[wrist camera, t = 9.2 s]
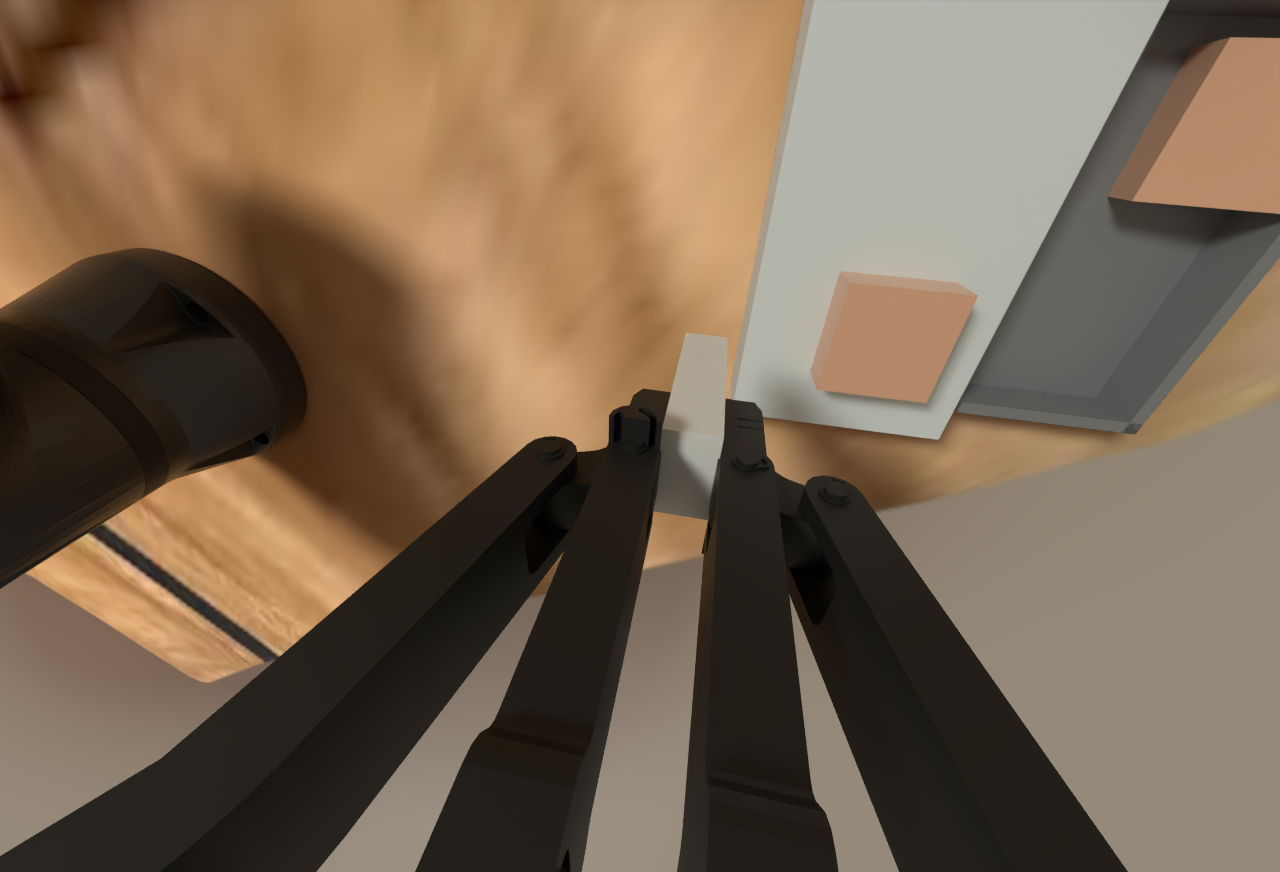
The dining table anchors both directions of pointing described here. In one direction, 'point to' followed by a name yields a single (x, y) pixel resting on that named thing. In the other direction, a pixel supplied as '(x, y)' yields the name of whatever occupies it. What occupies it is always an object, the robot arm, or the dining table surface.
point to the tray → (1127, 265)
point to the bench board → (922, 174)
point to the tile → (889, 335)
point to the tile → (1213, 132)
